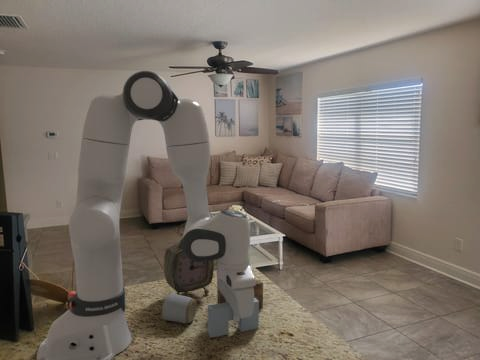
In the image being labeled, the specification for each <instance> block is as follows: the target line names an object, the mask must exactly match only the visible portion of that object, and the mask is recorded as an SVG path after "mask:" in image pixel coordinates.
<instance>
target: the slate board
mask: <svg viewBox="0 0 480 360" xmlns="http://www.w3.org/2000/svg"><path fill="white" fill-rule="evenodd" d="M259 310H260V308H259V301H258V300H257V299H256V298H254V309H253V314H252V316H251V317H247V318H240V321H239V322H237V325H238V326H237V327H238V328H237V329H239V330H240V332H247V331H252V330H257V329H260V328H259V327H260V326H259V324H260V323H259V319H260V318H259V315H260V314H259V313H260V311H259ZM232 314H233V309H232V307H231V306H230V305H229V303H228V302H226V303H220V304H218V303H216V304H210V305H209V304H208V305H207V334H208V336H209V338H215V337H220V336H226V335H229V334H230V333H229V332H230V331H229V329H230V327H229V324H230V323H229V321H233V320H232Z"/></svg>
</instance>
